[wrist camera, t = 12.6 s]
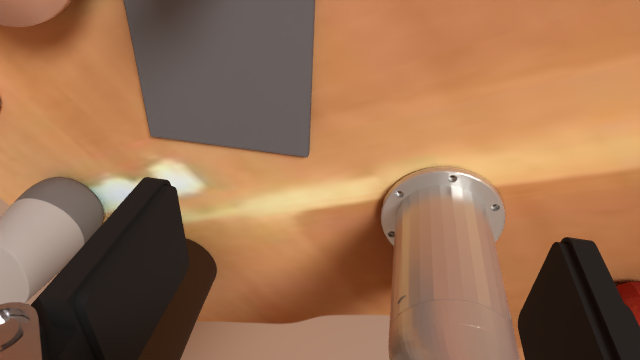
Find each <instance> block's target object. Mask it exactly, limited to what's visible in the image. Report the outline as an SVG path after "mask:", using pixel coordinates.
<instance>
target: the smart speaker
mask: <svg viewBox="0 0 640 360" xmlns="http://www.w3.org/2000/svg"><path fill="white" fill-rule="evenodd" d="M103 216H104V212H103V208H102V205H101V203H100V201H99V199H98V198H97V196H96V195H95V194H94V193H93V192H92V191H91V190H90V189H89V188H87V187H86V186H85V185H83V184H81V183H79V182H77V181H75V180H72V179H69V178H63V177H54V178H49V179H45V180H43V181H41V182H39V183H37V184H35V185H33V186H32V187H30V188H29V189H28V190H26V191H25V192H24V193H23V194H22V195H21V196H20V197H19V198H18V199H17V200H16V201H15V202H14V203H13V204H12V205H11V206H10V207H9V208H8V209H7V211H6V212H5V213H4V214H3V215H2V216H1V218H0V304H4V303H9V302H22V303H26V302H27V301H28V300H29V299H30V298H31V297H32V296H34V295H35V294H36V293H37V292H38V291H39V290H40V289H41V288H42V287H44V286H45V285H46V284H47V283H48V282H49V281H50V280H51V279H52V278H53V277H54V276H55V275H57V274H58V273H59V272H60V271H61V270H62V269H63V268H64V267H65V266H66V265H67V264H68V262H69V261H70V260H71V259H72V258H73V257H74V256H75V254H76V253H77V252H78V251H79V250H80V249H81V248H82V247H83V245H84V244H85V243H86V242H87V241H88V240H89V239H90V237H91V236H92V235H93V234H94V233H95V232H96V231H97V230H98V228H99V227H101V226H102V223H103Z"/></svg>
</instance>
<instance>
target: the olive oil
mask: <svg viewBox="0 0 640 360" xmlns="http://www.w3.org/2000/svg"><path fill="white" fill-rule="evenodd" d="M185 240H186V245H187V251H188V257H189V267H188V271H187V273H186V275H185V277H184V279H183V280H182V282H181V284H180V286H179V287H178V289H177V291H176V293H175V295H174V296H173V298H172V300H171V302H170V303H169V305H168V307H167V309H166V310H165V312H164V314H163V316H162V318H161V319H160V321H159V323H158V325H157V326H156V328H155V330H154V332H153V333H152V335H151V337H150V339H149V341H148V342H147V344H146V346H145V348H144V349H143V351H142V353H141V355H140V356H139V358H138V360H180V358H181V356H182V354H183V351H184V349H185V346H186V344H187V342H188V339H189V337H190V334H191V332H192V329H193V327H194V325H195V322H196V320H197V318H198V315H199V313H200V311H201V308H202V306H203V304H204V302H205V299H206V297H207V295H208V293H209V290H210V288H211V286H212V284H213V282H214V279H215V277H216V273H217V268H216V264H215V262H214V260H213V258H212V256H211V255H210V254H209V253H208V252H207V251H206V250H205V249H204V248H203V247H202V246H200V245H199V244H197V243H195V242H193V241H191V240H189V239H186V238H185Z"/></svg>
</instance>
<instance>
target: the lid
mask: <svg viewBox="0 0 640 360" xmlns="http://www.w3.org/2000/svg"><path fill="white" fill-rule="evenodd" d="M71 1H72V0H0V25H4V26H10V27H27V26H33V25H37V24H40V23H43V22H45V21H47V20H50V19H52V18H53V17H55V16H57V15H59V14H60V13H61V12H62V11H63V10H65V9H66V7H67V6H68V5H69V4H70V2H71Z"/></svg>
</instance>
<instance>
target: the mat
mask: <svg viewBox="0 0 640 360" xmlns="http://www.w3.org/2000/svg"><path fill="white" fill-rule="evenodd" d="M124 4H125V9H126V14H127V19H128V24H129V29H130V34H131V39H132V44H133V49H134V54H135V59H136V64H137V69H138V74H139V79H140V84H141V89H142V94H143V99H144V104H145V109H146V114H147V119H148V124H149V129H150V134H151V136H152V137H160V138H167V139H174V140H182V141H189V142H197V143H204V144H212V145H219V146H227V147H234V148H242V149H249V150H257V151H264V152H272V153H279V154H287V155H294V156H302V157H308V155H309V146H310V120H311V94H312V67H313V41H314V15H315V0H124Z"/></svg>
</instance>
